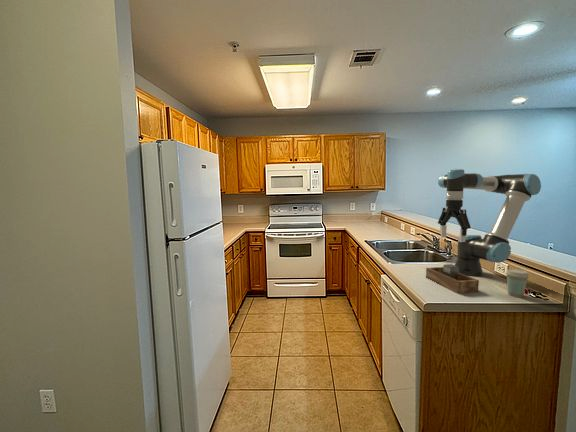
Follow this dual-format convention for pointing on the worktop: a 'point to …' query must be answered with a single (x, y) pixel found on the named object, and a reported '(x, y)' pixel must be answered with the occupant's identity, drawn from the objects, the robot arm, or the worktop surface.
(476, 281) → the wooden box
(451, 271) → the dark grey block
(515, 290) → the coffee cup
